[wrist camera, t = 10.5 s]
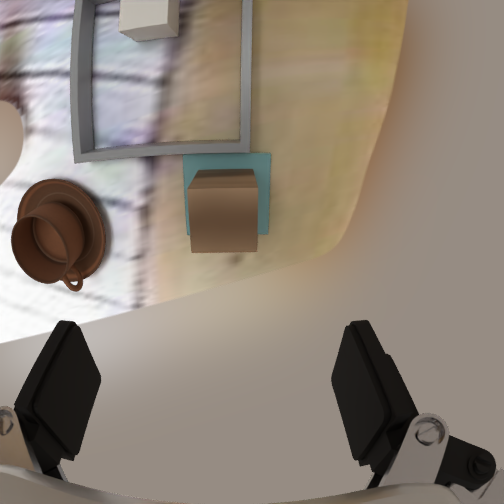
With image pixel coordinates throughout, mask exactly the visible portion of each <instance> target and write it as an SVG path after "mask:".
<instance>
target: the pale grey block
mask: <svg viewBox="0 0 504 504" xmlns="http://www.w3.org/2000/svg"><path fill="white" fill-rule="evenodd" d="M179 9H180V0H121V3H120V15H119V32H120V33H122V34H124V35H126V36H127V37H129V38H131V39H133V40H134V41H136V42H139V41H146V40H153V39H161V38H169V37H178V34H179Z"/></svg>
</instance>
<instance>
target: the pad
mask: <svg viewBox="0 0 504 504" xmlns="http://www.w3.org/2000/svg"><path fill="white" fill-rule="evenodd" d="M270 165H271V153H260V152H250V153H196V154H183V173H184V193H185V210H186V225H187V235H190V226H189V212H188V196H187V188H188V187H189V185H190V183H191V181H192V180H193V178H194V176H195V175H196V173H197V171H198V170H205V169H253V171H254V174H255V178H256V182H257V185H258V234H268V224H269V196H270Z"/></svg>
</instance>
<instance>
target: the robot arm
mask: <svg viewBox="0 0 504 504" xmlns="http://www.w3.org/2000/svg"><path fill="white" fill-rule="evenodd" d="M331 381H332V386H333V389H334V393H335V396H336V399H337V403H338V406H339V409H340V413H341V417H342V420H343V424H344V427H345V431H346V434H347V438H348V441H349V445H350V449H351V452H352V456H353V458H354V460H358V461H359V465H360V466H364V465H368V464H370V467H371V470H372V472H373V474H372V475H371V477H370V479H369V481H368V483H367V484H366V486H365V488H364V490H360V491H356V492H351V493H347V494H341V495H335V496H329V497H323V498H315V499H308V500H301V501H292V502H283V503H272V504H504V470H503V469H501V468H500V469H499V470H497V469H496V463H495V459H494V457H493V455H492V454H491V453H490V452H488V451H487V450H485V449H482V448H480V447H477V446H475V445H472V444H469V443H467V442H465V441H462V440H460V439H457V438H455V437H453V436H450V435H449V429H448V426H447V424H446V422H445V421H444V420H443V419H442V418H441V417H439V416H437V415H435V414H431V413H423V414H421V415H419V413H418V411H417V409H416V407H415V404H414V402H413V400H412V398H411V396H410V394H409V392H408V390H407V387H406V386H405V383H404V382H403V379H402V377H401V375H400V373H399V371H398V369H397V367H396V365H395V363H394V361H393V359H392V358H391V356H390V355H388V354H385V352H384V350H383V348H382V346H381V344H380V342H379V340H378V338H377V336H376V334H375V332H374V330H373V328H372V327H371V325H370V323H369V321H368V320H361V321H352V322H351V323H350V325H349V326H346V327H345V330H344V334H343V338H342V342H341V345H340V348H339V352H338V356H337V359H336V363H335V366H334V370H333V373H332V377H331ZM100 383H101V375H100V373H99V370H98V368H97V366H96V364H95V362H94V359H93V357H92V355H91V353H90V350H89V348H88V346H87V343H86V341H85V338H84V336H83V333H82V331H81V328H80V327H79V326H77V325H76V323H75V322H73V321H63V320H61V321H59V322H58V323H57V325H56V327H55V328H54V330H53V332H52V334H51V335H50V337H49V339H48V340H47V342H46V344H45V346H44V347H43V349H42V351H41V353H40V354H39V356H38V358H37V360H36V362H35V364H34V365H33V367H32V369H31V371H30V373H29V375H28V377H27V379H26V381H25V383H24V385H23V387H22V389H21V391H20V393H19V395H18V397H17V399H16V401H15V403H14V405H15V408H14V410H13V409H12V408H10V407H8V406H1V407H0V504H188V503H176V502H166V501H158V500H150V499H143V498H137V497H131V496H125V495H120V494H115V493H110V492H105V491H101V490H97V489H92V488H88V487H85V486H81V485H77V484H73V483H70V482H68V480H67V478H66V476H65V474H64V472H63V470H62V468H61V465H60V460H61V458H64V459H67V460H71V461H74V457H75V455H77V454H78V453H79V451H80V447H81V444H82V440H83V437H84V434H85V430H86V427H87V424H88V420H89V417H90V414H91V410H92V408H93V404H94V401H95V398H96V395H97V392H98V389H99V386H100ZM269 504H271V503H269Z"/></svg>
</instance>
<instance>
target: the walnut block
mask: <svg viewBox="0 0 504 504" xmlns="http://www.w3.org/2000/svg"><path fill="white" fill-rule="evenodd" d="M187 196H188V212H189V226H190V239H191V251H192V253H217V252H257V236H258V185H257V182H256V178H255V174H254V171H253V169H205V170H198V171H197V173H196V175H195V176H194V178H193V180H192V181H191V183H190V185H189V187H188V188H187Z"/></svg>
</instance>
